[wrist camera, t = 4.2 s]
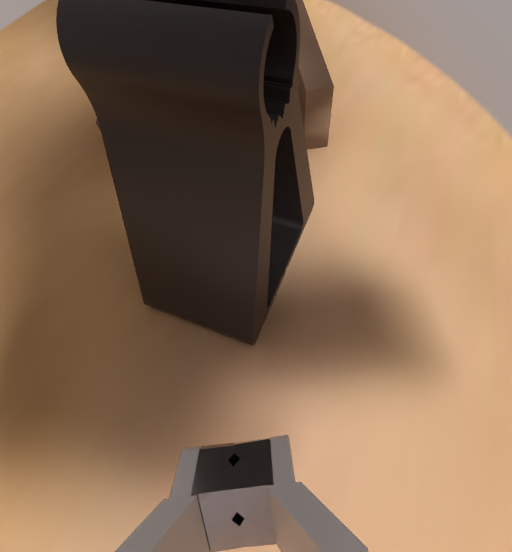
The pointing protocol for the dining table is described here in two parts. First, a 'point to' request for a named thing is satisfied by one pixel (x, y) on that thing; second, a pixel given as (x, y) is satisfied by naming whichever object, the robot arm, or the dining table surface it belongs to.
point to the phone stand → (199, 145)
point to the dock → (312, 85)
